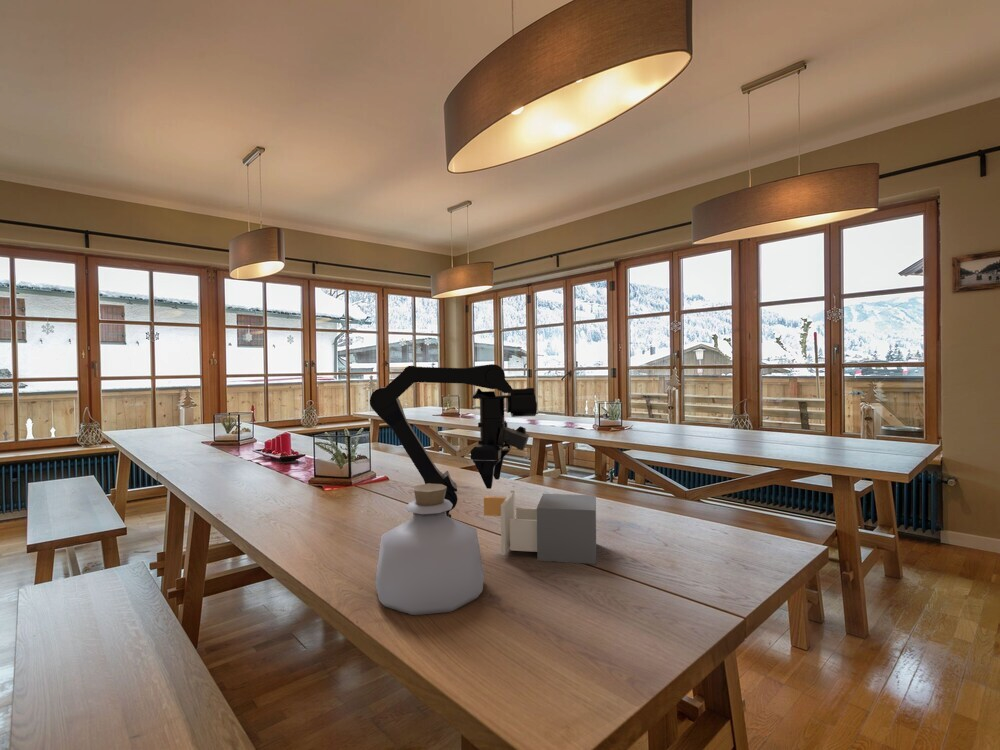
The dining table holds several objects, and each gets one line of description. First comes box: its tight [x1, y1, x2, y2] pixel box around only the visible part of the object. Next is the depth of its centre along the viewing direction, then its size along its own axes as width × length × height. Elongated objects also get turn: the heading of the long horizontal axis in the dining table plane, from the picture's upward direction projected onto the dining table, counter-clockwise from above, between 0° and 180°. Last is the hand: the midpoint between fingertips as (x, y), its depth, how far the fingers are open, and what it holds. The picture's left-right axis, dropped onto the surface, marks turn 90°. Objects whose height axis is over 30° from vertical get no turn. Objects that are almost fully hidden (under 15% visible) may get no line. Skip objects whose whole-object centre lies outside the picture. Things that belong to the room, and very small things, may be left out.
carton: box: [536, 493, 597, 565], centre depth 109 cm, size 12×12×11 cm
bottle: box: [374, 483, 485, 616], centre depth 91 cm, size 20×20×19 cm
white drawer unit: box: [483, 490, 537, 556], centre depth 110 cm, size 17×13×10 cm
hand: (493, 483), depth 117 cm, fingers open, 9 cm apart
